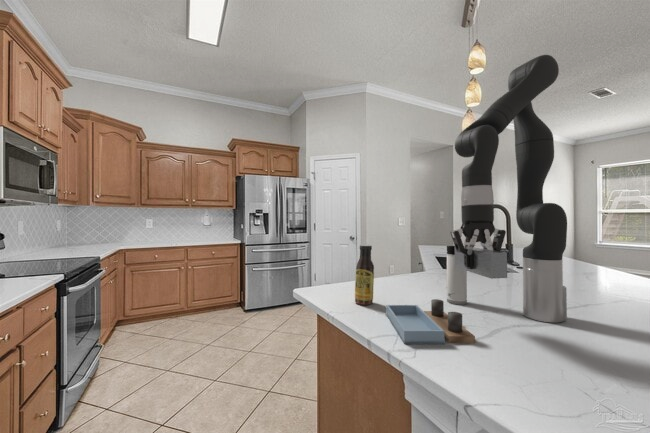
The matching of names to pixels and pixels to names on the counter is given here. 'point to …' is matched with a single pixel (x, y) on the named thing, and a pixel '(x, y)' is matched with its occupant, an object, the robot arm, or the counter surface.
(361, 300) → the sauce bottle
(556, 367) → the counter surface
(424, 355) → the counter surface
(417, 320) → the slot tray
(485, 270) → the steel bar
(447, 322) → the peg rack
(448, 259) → the travel mug
